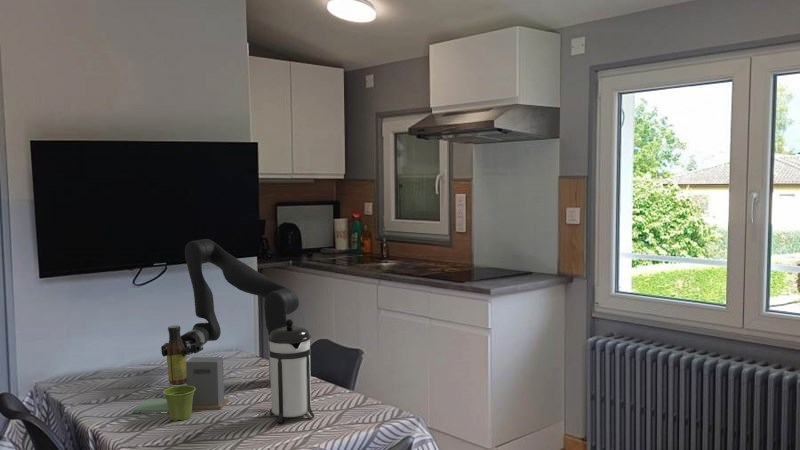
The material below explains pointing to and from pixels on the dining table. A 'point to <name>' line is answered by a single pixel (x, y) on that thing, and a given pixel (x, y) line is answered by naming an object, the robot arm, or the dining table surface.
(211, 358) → the charcoal unit
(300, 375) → the coffee press
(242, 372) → the dining table surface
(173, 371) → the sauce bottle
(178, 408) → the plant pot
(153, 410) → the green mat
